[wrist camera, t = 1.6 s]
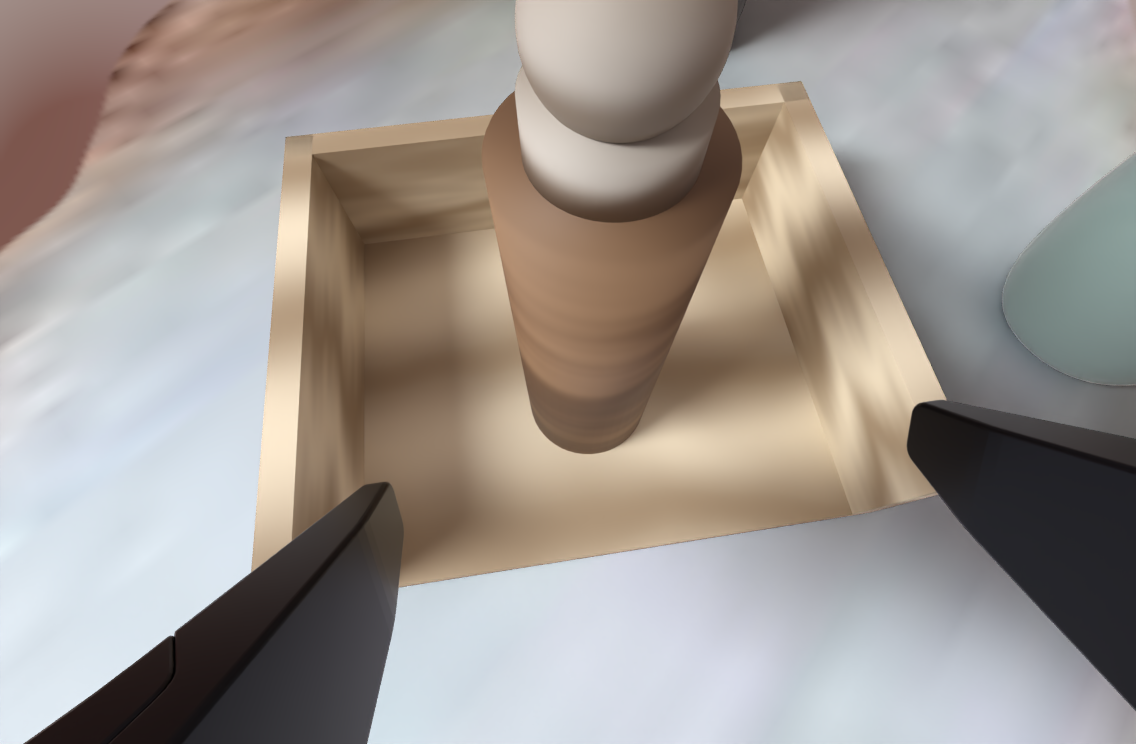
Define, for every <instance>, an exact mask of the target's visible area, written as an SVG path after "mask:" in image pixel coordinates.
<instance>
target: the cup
mask: <svg viewBox="0 0 1136 744" xmlns="http://www.w3.org/2000/svg"><path fill="white" fill-rule="evenodd" d="M1002 308H1003V312H1004V316H1005V319H1006V322H1007V323H1008V325H1009V327H1010V329H1011V331H1012V332H1013V334H1014V335H1015V336H1016V337H1017V339H1018V340H1019V341H1020V342H1021V344H1022V345H1023V346H1024V347H1025V348H1027V349H1028V350H1029V351H1030V352H1031V353H1032V354H1033V355H1034V356H1035V357H1037V358H1038V359H1039V360H1041V361H1042V362H1043V363H1045V364H1046V365H1048V366H1050V367H1052V368H1053V369H1055V370H1057V371H1059V372H1061V373H1063V374H1066V375H1068V376H1070V377H1073V378H1076V379H1078V380H1082V381H1086V382H1090V383H1094V384H1102V385H1115V386H1132V385H1136V151H1135V152H1134V153H1132V154H1131V155H1130V156H1129V157H1127V158H1126V159H1125V160H1124V161H1122V162H1121V163H1120V164H1118V165H1117V166H1116V167H1115V168H1113V169H1112V170H1111V171H1110V172H1108V173H1107V174H1106V175H1105V176H1103V177H1102V178H1101V179H1100V180H1098V181H1097V182H1096V183H1095V184H1094V185H1092V186H1091V187H1090V188H1089V189H1087V190H1086V191H1085V192H1084V193H1083V194H1082V195H1080V196H1079V197H1078V198H1077V199H1076V200H1074V201H1073V202H1072V203H1071V204H1070V205H1069V206H1067V207H1066V208H1065V209H1064V210H1063V211H1062V212H1061V213H1060V214H1059V215H1058V216H1056V217H1055V218H1054V219H1053V220H1052V221H1051V222H1050V223H1049V224H1048V225H1047V226H1046V227H1045V228H1044V229H1043V230H1042V231H1041V232H1040V233H1039V234H1038V235H1037V236H1036V237H1035V238H1034V239H1033V240H1032V241H1031V242H1030V243H1029V244H1028V245H1027V247H1026V248H1025V249H1024V250H1023V251H1022V253H1021V254H1020V255H1019V257H1018V258H1017V260H1016V261H1015V263H1014V265H1013V266H1012V268H1011V270H1010V271H1009V273H1008V275H1007V277H1006V281H1005V284H1004V288H1003V292H1002Z"/></svg>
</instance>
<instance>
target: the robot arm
mask: <svg viewBox="0 0 1136 744" xmlns="http://www.w3.org/2000/svg"><path fill="white" fill-rule="evenodd" d="M906 447H907V452H908V455H909V457H910V459H911V460H912V462H913V463H914V464H915V465H916V467H917V468H918V469H919V471H920V472H921V473H922V474H923V476H924V477H925V478H926V479H927V481H928V482H929V483H930V485H931V486H932V487H933V488H934V490H935V491H936V492H937V494H938V495H939V496H940V497H941V499H942V500H943V501H944V503H945V504H946V505H947V506H948V508H949V509H950V510H951V512H952V513H953V514H954V515H955V517H956V518H957V519H958V520H959V522H960V523H961V524H962V525H963V526H964V528H965V529H966V530H967V531H968V532H969V533H970V535H971V536H972V537H973V538H974V539H975V540H976V541H977V542H978V543H979V544H980V545H981V547H982V548H983V549H984V550H985V551H986V552H987V553H988V554H989V555H990V556H991V557H992V558H993V559H994V560H995V561H996V563H997V564H998V565H999V566H1000V567H1001V568H1002V569H1003V570H1004V571H1005V572H1006V573H1007V574H1008V575H1009V576H1010V577H1011V579H1012V580H1013V581H1014V582H1015V583H1016V584H1017V585H1018V586H1019V587H1020V588H1021V589H1022V590H1023V591H1024V592H1025V593H1026V595H1027V596H1028V597H1029V598H1030V599H1031V600H1032V601H1033V602H1034V603H1035V604H1036V605H1037V606H1038V607H1039V608H1040V609H1041V611H1042V612H1043V613H1044V614H1045V615H1046V616H1047V617H1048V618H1049V619H1050V620H1051V621H1052V622H1053V623H1054V624H1055V625H1056V627H1057V628H1058V629H1059V630H1060V631H1061V632H1062V633H1063V634H1064V635H1065V636H1066V637H1067V638H1068V639H1069V640H1070V641H1071V643H1072V644H1073V645H1074V646H1075V647H1076V648H1077V649H1078V650H1079V651H1080V652H1081V653H1082V654H1083V655H1084V656H1085V657H1086V659H1087V660H1088V661H1089V662H1090V663H1091V664H1092V665H1093V666H1094V667H1095V668H1096V669H1097V670H1098V671H1099V672H1100V673H1101V675H1102V676H1103V677H1104V678H1105V679H1106V680H1107V681H1108V682H1109V683H1110V684H1111V685H1112V686H1113V687H1114V688H1115V689H1116V691H1117V692H1118V693H1119V694H1120V695H1121V696H1122V697H1123V698H1124V699H1125V700H1126V701H1127V702H1128V703H1129V704H1130V705H1131V707H1132V708H1133V709H1134V710H1135V711H1136V439H1134V438H1129V437H1124V436H1119V435H1114V434H1109V433H1104V432H1099V431H1094V430H1089V429H1084V428H1079V427H1075V426H1070V425H1065V424H1060V423H1055V422H1050V421H1045V420H1040V419H1035V418H1030V417H1025V416H1020V415H1016V414H1011V413H1006V412H1001V411H996V410H991V409H986V408H981V407H976V406H971V405H966V404H962V403H957V402H952V401H947V400H934V401H927V402H921V403H918V404H917V405H915V407H914V408H913V410H912V414H911V420H910V426H909V431H908V437H907V444H906ZM403 540H404V526H403V521H402V517H401V513H400V510H399V506H398V503H397V499H396V496H395V492H394V489H393V487H392V485H391V484H390V483H389V482H378V483H372V484H366V485H363V486H362V487H360V488H359V489H358V490H357V491H355V492H354V493H353V494H351V495H350V496H349V497H348V498H346V499H345V500H344V501H342V502H341V503H340V504H339V505H337V506H336V507H335V508H333V509H332V510H331V511H330V512H328V513H327V514H326V515H324V516H323V517H322V518H321V519H319V520H318V521H317V522H315V523H314V524H313V525H312V526H310V527H309V528H308V529H306V530H305V531H304V532H302V533H301V534H300V535H299V536H297V537H296V538H295V539H293V540H292V541H291V542H290V543H288V544H287V545H286V546H284V547H283V548H282V549H281V550H279V551H278V552H277V553H275V554H274V555H273V556H272V557H270V558H269V559H268V560H266V561H265V562H264V563H263V564H261V565H260V566H259V567H257V568H256V569H255V570H254V571H252V572H251V573H250V574H248V575H247V576H246V577H245V578H243V579H242V580H241V581H239V582H238V583H237V584H236V585H234V586H233V587H232V588H230V589H229V590H228V591H227V592H225V593H224V594H223V595H221V596H220V597H219V598H218V599H216V600H215V601H214V602H212V603H211V604H210V605H209V606H207V607H206V608H205V609H203V610H202V611H201V612H200V613H198V614H197V615H196V616H194V617H193V618H192V619H190V620H189V621H188V622H187V623H185V624H184V625H183V626H181V627H180V628H179V629H178V630H176V631H175V634H174V636H169V637H167V638H166V639H164V640H163V641H162V642H161V643H159V644H158V645H157V646H156V647H154V648H153V649H152V650H150V651H149V652H148V653H147V654H145V655H144V656H143V657H142V658H140V659H139V660H138V661H136V662H135V663H134V664H132V665H131V666H130V667H128V668H127V669H126V670H124V671H123V672H122V673H120V674H119V675H118V676H116V677H115V678H114V679H112V680H111V681H110V682H108V683H107V684H106V685H104V686H103V687H102V688H101V689H99V690H98V691H97V692H95V693H94V694H92V695H91V696H90V697H88V698H87V699H85V700H84V701H83V702H81V703H80V704H78V705H77V706H76V707H74V708H73V709H72V710H70V711H69V712H67V713H66V714H65V715H63V716H62V717H60V718H59V719H58V720H56V721H55V722H53V723H52V724H51V725H49V726H48V727H46V728H45V729H44V730H42V731H41V732H39V733H38V734H37V735H35V736H34V737H32V738H31V739H29V740H28V741H27V742H25V743H24V744H367V742H368V737H369V733H370V729H371V724H372V720H373V716H374V711H375V707H376V702H377V698H378V694H379V689H380V685H381V681H382V676H383V672H384V667H385V663H386V659H387V654H388V650H389V645H390V641H391V637H392V632H393V627H394V621H395V614H396V606H397V597H398V587H399V578H400V569H401V559H402V550H403Z"/></svg>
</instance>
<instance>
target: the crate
mask: <svg viewBox="0 0 1136 744" xmlns="http://www.w3.org/2000/svg"><path fill="white" fill-rule="evenodd" d="M720 94H721V99H720V107H721V108H722V109H723V110H724V112H725V113H726V115H727V116H728V118H729V119H730V120H731V122H732V124H733V126H734V128H735V130H736V133H737V136H738V139H739V142H740V145H741V152H742V173H741V178H740V183H739V186H738V189H737V191H736V194H735V196H734V199H733V201H732V203H731V206H730V208H729V211H728V213H727V215H726V218H725V220H724V222H723V225H722V227H721V229H720V232H719V234H718V237H717V239H716V241H715V244H714V246H713V248H712V251H711V253H710V256H709V258H708V260H707V263H706V265H705V267H704V270H703V272H702V275H701V277H700V279H699V282H698V284H697V286H696V289H695V291H694V294H693V296H692V298H691V301H690V303H689V305H688V308H687V310H686V312H685V315H684V317H683V320H682V322H681V324H680V327H679V329H678V331H677V334H676V336H675V339H674V341H673V343H672V346H671V348H670V350H669V353H668V355H667V358H666V360H665V362H664V365H663V367H662V369H661V372H660V374H659V377H658V379H657V381H656V384H655V386H654V388H653V391H652V393H651V396H650V398H649V400H648V403H647V405H646V407H645V410H644V412H643V414H642V417H641V419H640V422H639V424H638V426H637V427H636V429H635V431H634V432H633V433H632V434H631V436H630V437H629V438H628V439H627V440H626V441H624V442H623V443H622V444H620V445H619V446H617V447H615V448H613V449H611V450H608V451H606V452H602V453H597V454H579V453H574V452H570V451H567V450H565V449H562V448H560V447H559V446H557V445H555V444H554V443H552V442H551V441H550V440H549V439H548V438H547V437H546V436H545V435H544V434H543V433H542V432H541V430H540V429H539V428H538V426H537V424H536V422H535V420H534V417H533V414H532V410H531V405H530V400H529V395H528V391H527V386H526V381H525V376H524V371H523V366H522V361H521V356H520V351H519V346H518V341H517V336H516V331H515V326H514V321H513V316H512V311H511V307H510V302H509V297H508V292H507V287H506V282H505V277H504V272H503V267H502V262H501V257H500V252H499V247H498V242H497V237H496V232H495V227H494V222H493V218H492V213H491V208H490V203H489V198H488V193H487V188H486V183H485V178H484V173H483V168H482V145H483V139H484V136H485V132H486V129H487V127H488V125H489V122H490V120H491V118H492V116H493V115H485V116H476V117H467V118H458V119H449V120H439V121H430V122H421V123H412V124H402V125H393V126H384V127H375V128H366V129H356V130H347V131H338V132H329V133H320V134H310V135H301V136H292V137H286V140H285V153H284V166H283V178H282V191H281V204H280V216H279V229H278V241H277V254H276V267H275V279H274V292H273V304H272V317H271V330H270V342H269V355H268V368H267V380H266V393H265V405H264V418H263V431H262V443H261V456H260V468H259V481H258V494H257V506H256V519H255V532H254V544H253V557H252V569H251V572H252V571H254V570H255V569H256V568H257V567H259V566H260V565H261V564H263V563H264V562H265V561H266V560H268V559H269V558H270V557H272V556H273V555H274V554H275V553H277V552H278V551H279V550H281V549H282V548H283V547H284V546H286V545H287V544H288V543H290V542H291V541H292V540H293V539H295V538H296V537H297V536H299V535H300V534H301V533H302V532H304V531H305V530H306V529H308V528H309V527H310V526H312V525H313V524H314V523H315V522H317V521H318V520H319V519H321V518H322V517H323V516H324V515H326V514H327V513H328V512H330V511H331V510H332V509H333V508H335V507H336V506H337V505H339V504H340V503H341V502H342V501H344V500H345V499H346V498H348V497H349V496H350V495H351V494H353V493H354V492H355V491H357V490H358V489H359V488H360V487H362V486H363V485H366V484H372V483H378V482H389V483H390V484H391V485H392V487H393V489H394V492H395V496H396V499H397V503H398V506H399V510H400V513H401V517H402V521H403V526H404V540H403V550H402V559H401V569H400V578H399V587H405V586H411V585H418V584H424V583H430V582H436V581H443V580H449V579H455V578H462V577H468V576H474V575H481V574H487V573H493V572H499V571H506V570H512V569H518V568H525V567H531V566H537V565H543V564H550V563H556V562H562V561H569V560H575V559H581V558H588V557H594V556H600V555H606V554H613V553H619V552H625V551H632V550H638V549H644V548H650V547H657V546H663V545H669V544H676V543H682V542H688V541H694V540H701V539H707V538H713V537H720V536H726V535H732V534H739V533H745V532H751V531H757V530H764V529H770V528H776V527H783V526H789V525H795V524H801V523H808V522H814V521H820V520H827V519H833V518H839V517H845V516H852V515H858V514H864V513H870V512H874V511H878V510H882V509H886V508H890V507H893V506H897V505H901V504H905V503H909V502H913V501H916V500H920V499H924V498H928V497H932V496H936V495H938V494H937V492H936V491H935V490H934V488H933V487H932V486H931V485H930V483H929V482H928V481H927V479H926V478H925V477H924V476H923V474H922V473H921V472H920V471H919V469H918V468H917V467H916V465H915V464H914V463H913V462H912V460H911V459H910V457H909V455H908V452H907V447H906V444H907V437H908V431H909V426H910V420H911V414H912V410H913V408H914V407H915V405H917V404H918V403H921V402H927V401H934V400H947V399H946V397H945V395H944V393H943V391H942V388H941V386H940V384H939V382H938V380H937V378H936V375H935V373H934V371H933V369H932V367H931V364H930V362H929V360H928V358H927V356H926V353H925V351H924V349H923V347H922V345H921V342H920V340H919V338H918V336H917V334H916V332H915V329H914V327H913V325H912V323H911V321H910V318H909V316H908V314H907V312H906V310H905V307H904V305H903V303H902V301H901V299H900V296H899V294H898V292H897V290H896V288H895V285H894V283H893V281H892V279H891V277H890V275H889V272H888V270H887V268H886V266H885V264H884V261H883V259H882V257H881V255H880V253H879V250H878V248H877V246H876V244H875V242H874V239H873V237H872V235H871V233H870V231H869V228H868V226H867V224H866V222H865V220H864V218H863V215H862V213H861V211H860V209H859V207H858V204H857V202H856V200H855V198H854V196H853V193H852V191H851V189H850V187H849V185H848V182H847V180H846V178H845V176H844V174H843V171H842V169H841V167H840V165H839V163H838V161H837V158H836V156H835V154H834V152H833V150H832V147H831V145H830V143H829V141H828V139H827V136H826V134H825V132H824V130H823V128H822V125H821V123H820V121H819V119H818V117H817V114H816V112H815V110H814V108H813V106H812V104H811V101H810V99H809V97H808V95H807V93H806V90H805V88H804V86H803V84H802V82H801V81H798V82H789V83H780V84H771V85H762V86H752V87H743V88H734V89H725V90H720ZM399 587H398V588H399Z"/></svg>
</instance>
